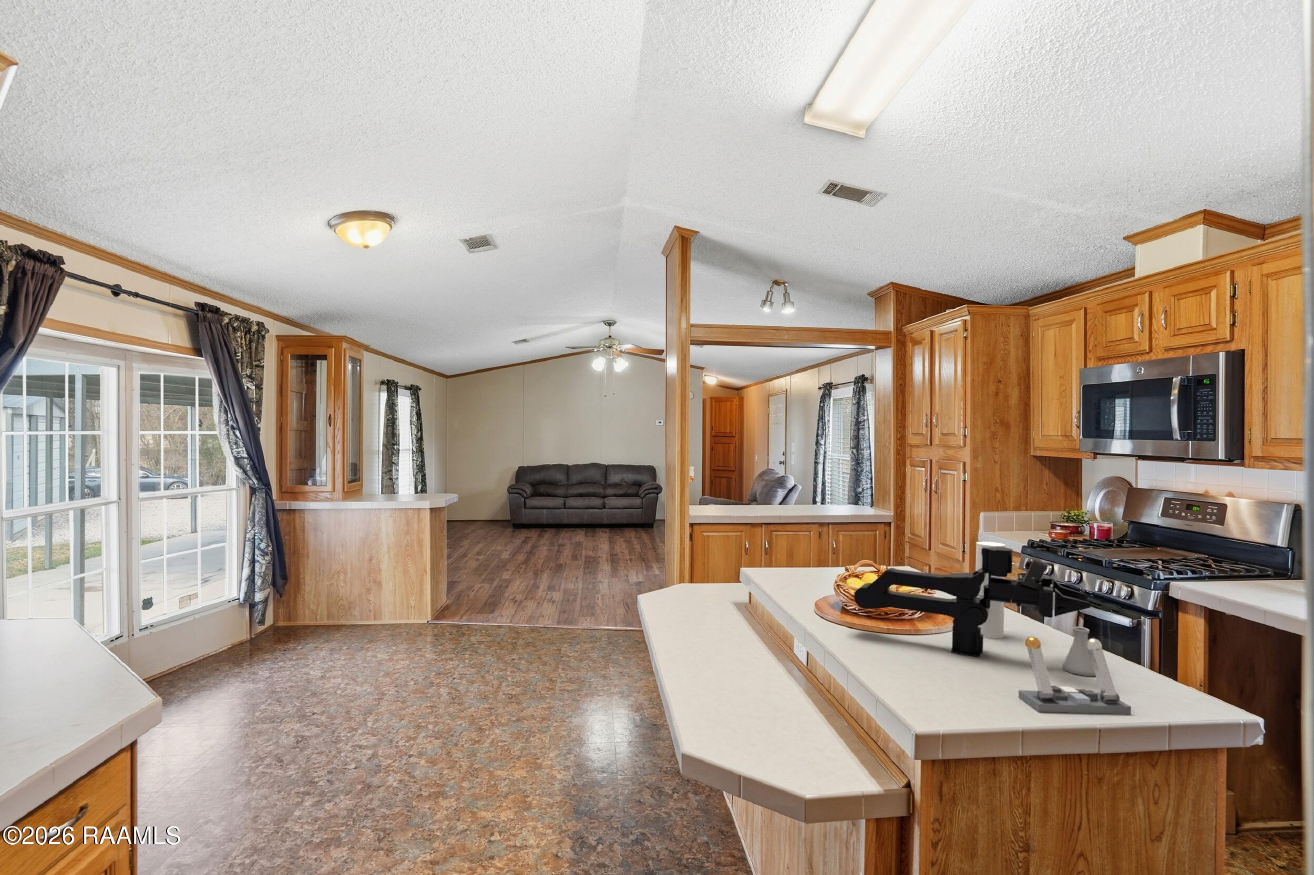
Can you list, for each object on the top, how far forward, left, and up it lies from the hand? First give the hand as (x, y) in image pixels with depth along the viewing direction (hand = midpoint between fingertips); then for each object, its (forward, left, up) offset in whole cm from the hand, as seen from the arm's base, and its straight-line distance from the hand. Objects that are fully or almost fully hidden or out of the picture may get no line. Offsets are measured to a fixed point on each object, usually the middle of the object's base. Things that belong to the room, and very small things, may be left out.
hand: (1089, 601), depth 148 cm
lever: (+2, -23, -14) cm, 27 cm away
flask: (-1, 0, -17) cm, 17 cm away
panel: (-4, -25, -16) cm, 30 cm away
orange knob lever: (-9, -29, -14) cm, 33 cm away
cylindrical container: (-21, +20, -17) cm, 34 cm away
